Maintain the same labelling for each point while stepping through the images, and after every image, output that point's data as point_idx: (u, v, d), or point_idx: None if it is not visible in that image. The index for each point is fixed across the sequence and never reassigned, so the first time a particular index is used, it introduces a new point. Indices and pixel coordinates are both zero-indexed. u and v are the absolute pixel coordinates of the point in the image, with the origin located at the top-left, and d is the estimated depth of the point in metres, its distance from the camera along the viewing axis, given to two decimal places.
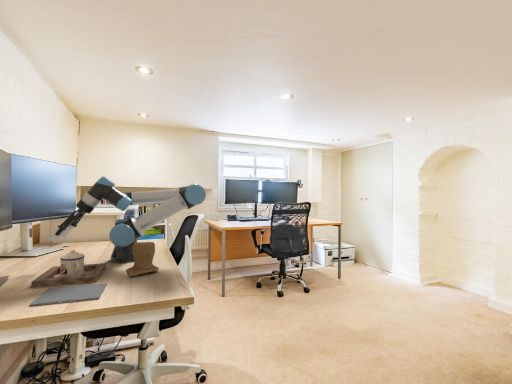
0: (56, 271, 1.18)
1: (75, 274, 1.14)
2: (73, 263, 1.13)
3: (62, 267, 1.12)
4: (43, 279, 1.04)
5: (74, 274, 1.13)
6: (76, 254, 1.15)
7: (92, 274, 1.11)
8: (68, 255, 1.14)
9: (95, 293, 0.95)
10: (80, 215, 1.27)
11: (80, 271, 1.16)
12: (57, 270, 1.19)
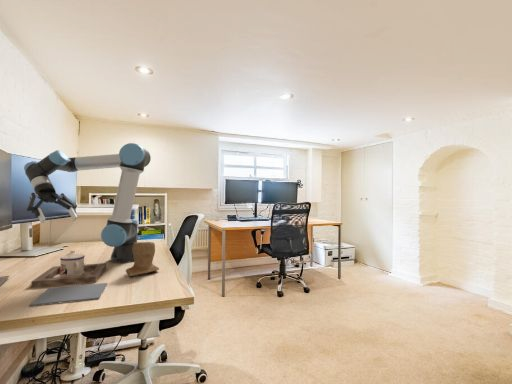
0: (56, 271, 1.18)
1: (75, 274, 1.14)
2: (73, 263, 1.13)
3: (62, 267, 1.12)
4: (43, 279, 1.04)
5: (74, 274, 1.13)
6: (76, 254, 1.15)
7: (92, 274, 1.11)
8: (68, 255, 1.14)
9: (95, 293, 0.95)
10: (44, 194, 1.22)
11: (80, 271, 1.16)
12: (57, 270, 1.19)
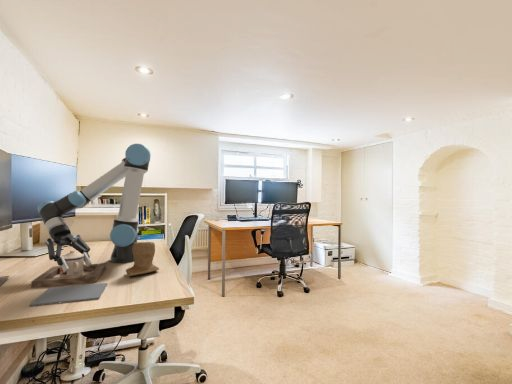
0: (56, 271, 1.18)
1: (75, 274, 1.13)
2: (73, 263, 1.13)
3: None
4: (43, 279, 1.04)
5: (74, 274, 1.13)
6: (76, 254, 1.15)
7: (92, 274, 1.11)
8: (68, 255, 1.14)
9: (95, 293, 0.95)
10: (60, 238, 1.17)
11: (80, 271, 1.15)
12: (57, 270, 1.19)
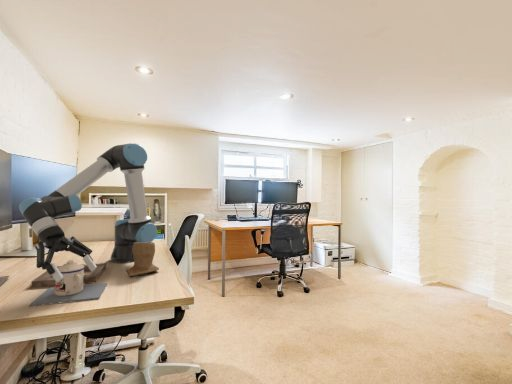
0: None
1: (75, 289, 0.94)
2: (73, 276, 0.94)
3: (59, 282, 0.92)
4: (43, 279, 1.04)
5: (74, 289, 0.94)
6: (75, 265, 0.96)
7: (92, 274, 1.11)
8: (66, 267, 0.94)
9: (95, 293, 0.95)
10: (54, 242, 0.96)
11: (80, 285, 0.96)
12: None
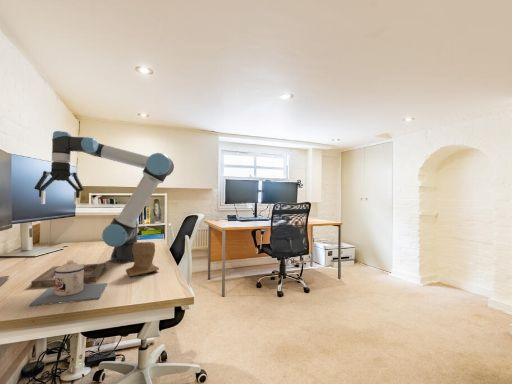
0: None
1: (75, 289, 0.94)
2: (73, 276, 0.94)
3: (59, 282, 0.92)
4: (43, 279, 1.04)
5: (74, 289, 0.94)
6: (75, 265, 0.96)
7: (92, 274, 1.11)
8: (66, 267, 0.94)
9: (95, 293, 0.95)
10: None
11: (80, 285, 0.96)
12: None
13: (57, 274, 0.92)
